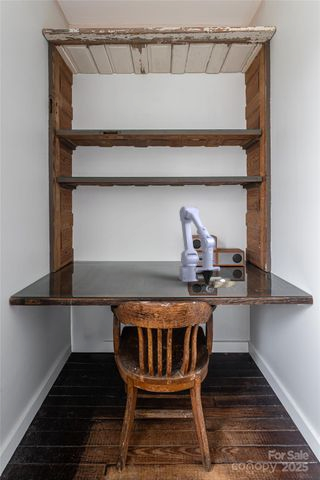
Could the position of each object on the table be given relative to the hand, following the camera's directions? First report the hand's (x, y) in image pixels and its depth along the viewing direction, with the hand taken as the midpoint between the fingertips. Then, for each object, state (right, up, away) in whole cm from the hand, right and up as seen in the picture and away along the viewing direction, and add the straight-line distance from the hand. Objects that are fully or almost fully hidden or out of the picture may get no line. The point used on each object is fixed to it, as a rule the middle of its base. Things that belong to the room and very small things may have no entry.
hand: (206, 283), depth 173 cm
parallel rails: (+9, -1, +3) cm, 9 cm away
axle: (+9, +1, +3) cm, 9 cm away
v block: (+7, -1, +10) cm, 12 cm away
